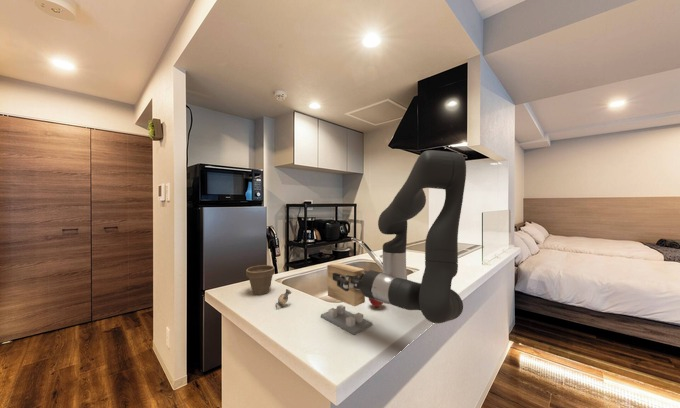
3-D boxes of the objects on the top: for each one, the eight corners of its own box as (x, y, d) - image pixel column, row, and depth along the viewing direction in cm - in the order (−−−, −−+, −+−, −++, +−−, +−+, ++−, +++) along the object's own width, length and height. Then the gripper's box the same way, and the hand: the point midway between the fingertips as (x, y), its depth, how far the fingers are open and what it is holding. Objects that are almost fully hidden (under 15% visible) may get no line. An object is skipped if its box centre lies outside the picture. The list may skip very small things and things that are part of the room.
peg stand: (338, 309, 87) (338, 301, 87) (372, 325, 76) (372, 315, 76) (320, 317, 82) (320, 308, 82) (353, 334, 71) (353, 325, 71)
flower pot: (247, 289, 108) (246, 265, 108) (274, 286, 112) (273, 263, 112) (245, 299, 97) (245, 273, 97) (275, 295, 101) (275, 270, 101)
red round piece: (371, 311, 85) (371, 288, 85) (366, 304, 91) (366, 282, 91) (387, 309, 86) (387, 286, 86) (381, 303, 92) (381, 281, 92)
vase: (290, 302, 94) (290, 286, 94) (292, 309, 89) (292, 292, 89) (275, 303, 92) (275, 288, 92) (276, 311, 87) (277, 294, 87)
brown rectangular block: (338, 292, 84) (337, 262, 84) (364, 302, 76) (364, 269, 76) (327, 295, 81) (327, 265, 81) (354, 306, 73) (354, 272, 73)
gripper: (396, 268, 73) (354, 259, 85) (364, 279, 63) (321, 267, 76) (397, 294, 73) (354, 281, 85) (364, 308, 63) (322, 291, 76)
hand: (339, 274), depth 80 cm, fingers closed on brown rectangular block, 4 cm apart
